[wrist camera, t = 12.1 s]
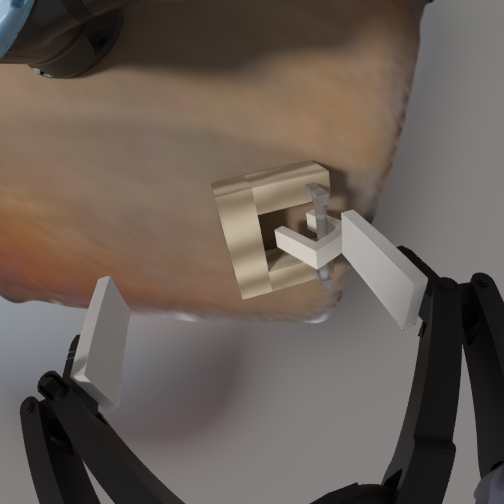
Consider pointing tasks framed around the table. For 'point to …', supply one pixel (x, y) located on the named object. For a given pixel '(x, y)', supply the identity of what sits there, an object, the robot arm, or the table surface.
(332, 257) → the white u-shaped bracket
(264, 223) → the table surface
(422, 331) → the robot arm
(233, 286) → the table surface
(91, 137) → the table surface
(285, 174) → the c-clamp
